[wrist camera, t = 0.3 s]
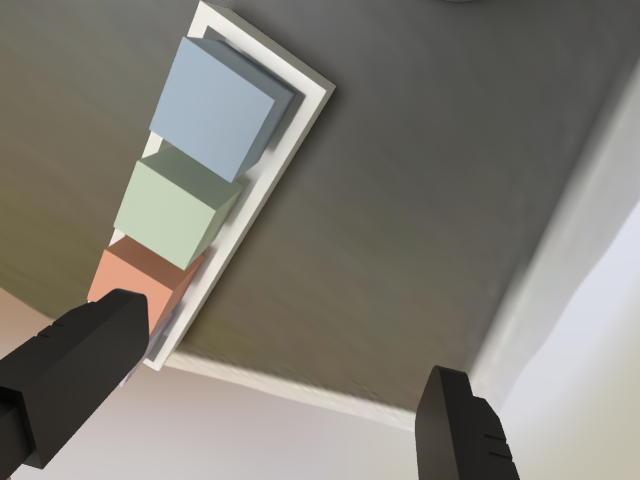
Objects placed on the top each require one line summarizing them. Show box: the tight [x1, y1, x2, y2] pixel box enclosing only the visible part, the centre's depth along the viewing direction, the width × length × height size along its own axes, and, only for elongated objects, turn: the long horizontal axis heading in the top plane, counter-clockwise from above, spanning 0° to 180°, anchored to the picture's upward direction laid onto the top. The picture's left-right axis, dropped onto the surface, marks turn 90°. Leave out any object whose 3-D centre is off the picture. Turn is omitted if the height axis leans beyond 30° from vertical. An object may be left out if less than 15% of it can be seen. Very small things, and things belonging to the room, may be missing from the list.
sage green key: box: [113, 146, 245, 270], centre depth 23 cm, size 5×5×4 cm
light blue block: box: [149, 36, 297, 183], centre depth 20 cm, size 5×5×4 cm
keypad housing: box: [88, 0, 336, 371], centre depth 28 cm, size 28×8×4 cm, turn 147°
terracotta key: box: [87, 235, 204, 336], centre depth 26 cm, size 5×5×4 cm
